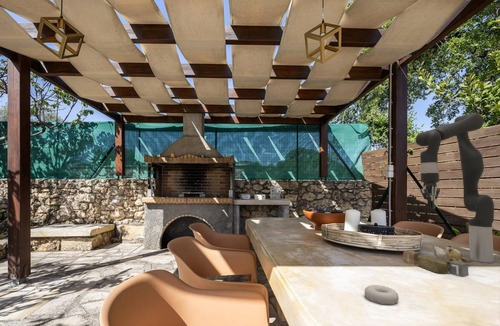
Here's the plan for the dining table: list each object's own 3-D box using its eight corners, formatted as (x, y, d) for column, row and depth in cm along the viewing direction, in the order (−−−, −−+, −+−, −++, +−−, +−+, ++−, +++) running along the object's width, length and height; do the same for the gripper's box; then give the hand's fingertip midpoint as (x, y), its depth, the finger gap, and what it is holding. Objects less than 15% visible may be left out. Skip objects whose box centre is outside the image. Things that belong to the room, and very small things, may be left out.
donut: (374, 291, 96) (358, 297, 90) (374, 281, 96) (358, 286, 90) (404, 301, 88) (389, 309, 82) (404, 290, 88) (389, 297, 82)
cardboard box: (409, 260, 136) (409, 250, 136) (420, 263, 132) (419, 252, 132) (403, 261, 134) (403, 251, 134) (413, 264, 129) (413, 253, 130)
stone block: (438, 274, 116) (437, 262, 116) (416, 266, 127) (416, 255, 128) (450, 274, 117) (449, 261, 117) (427, 266, 128) (427, 254, 129)
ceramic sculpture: (437, 241, 142) (474, 248, 130) (437, 258, 142) (473, 267, 130) (429, 243, 136) (467, 251, 124) (428, 261, 135) (466, 271, 124)
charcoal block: (455, 272, 119) (454, 260, 120) (468, 275, 115) (468, 263, 115) (448, 273, 117) (448, 261, 117) (462, 277, 112) (461, 264, 113)
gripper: (429, 172, 139) (430, 207, 138) (413, 172, 133) (414, 208, 132) (445, 172, 133) (447, 208, 131) (429, 171, 127) (431, 209, 125)
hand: (431, 208), depth 132 cm, fingers closed
